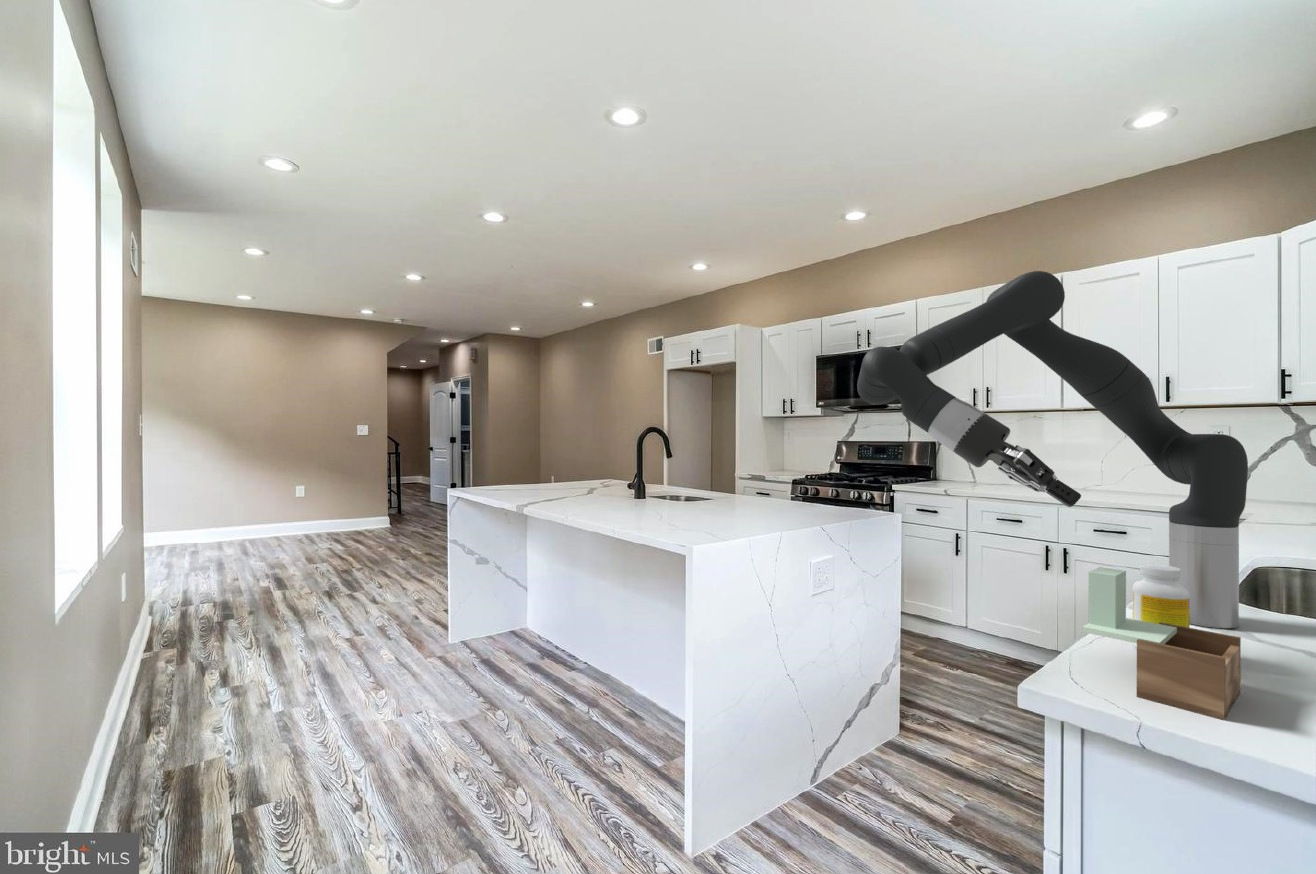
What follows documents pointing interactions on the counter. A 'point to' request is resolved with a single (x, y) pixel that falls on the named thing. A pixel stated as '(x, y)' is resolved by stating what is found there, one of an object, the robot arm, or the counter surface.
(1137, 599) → the supplement bottle
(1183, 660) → the walnut box
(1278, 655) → the counter surface
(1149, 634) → the sage lid
